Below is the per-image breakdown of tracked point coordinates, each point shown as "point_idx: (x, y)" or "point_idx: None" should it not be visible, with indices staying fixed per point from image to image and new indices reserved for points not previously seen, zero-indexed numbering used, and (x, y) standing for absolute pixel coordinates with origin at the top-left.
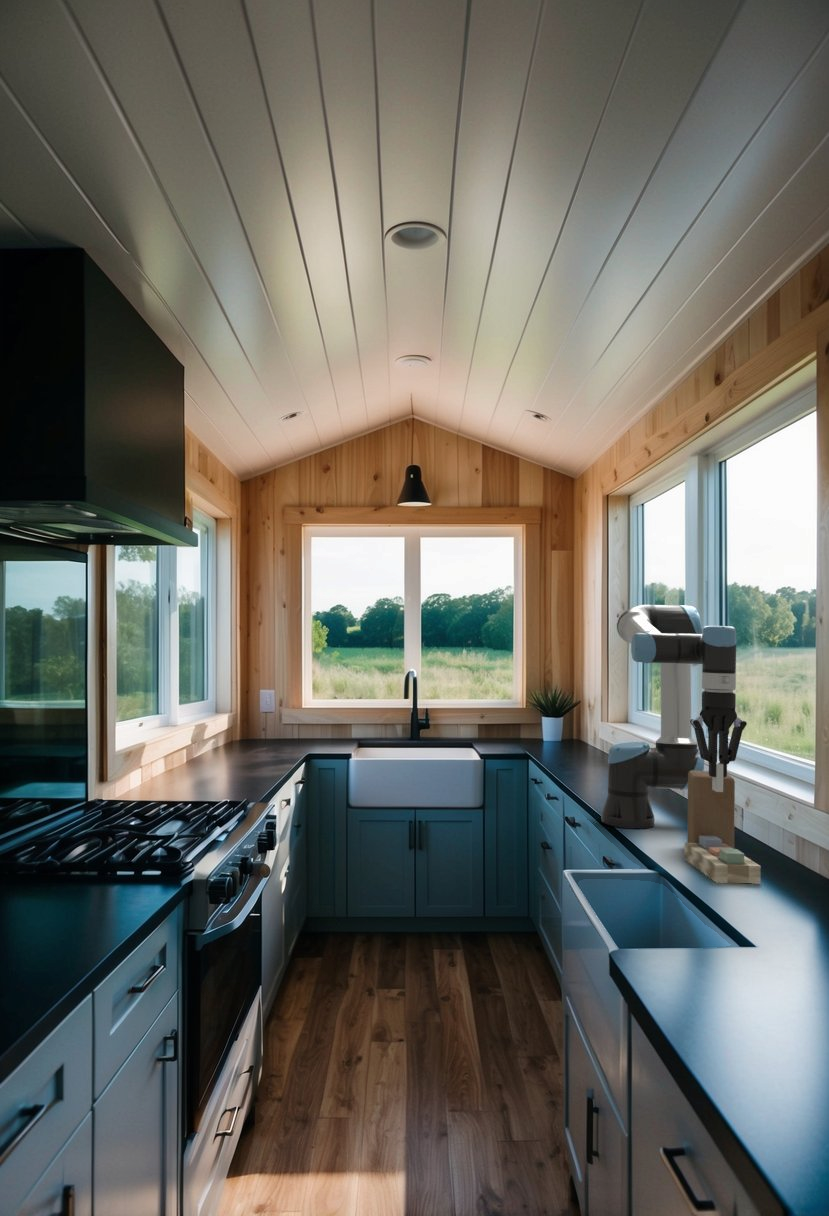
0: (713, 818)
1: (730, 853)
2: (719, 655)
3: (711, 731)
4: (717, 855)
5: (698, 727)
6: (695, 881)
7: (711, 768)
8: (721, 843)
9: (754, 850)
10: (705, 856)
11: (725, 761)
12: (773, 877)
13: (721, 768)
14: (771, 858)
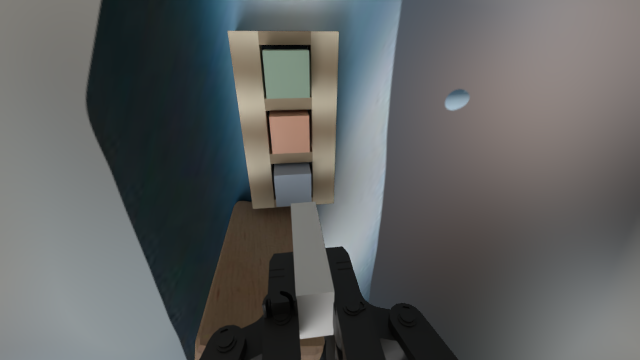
0: (270, 249)
1: (298, 51)
2: None
3: None
4: (304, 113)
5: None
6: (367, 45)
7: (354, 276)
8: (275, 172)
9: (181, 252)
10: (333, 106)
11: (284, 310)
12: (190, 87)
13: (305, 274)
14: (161, 212)
